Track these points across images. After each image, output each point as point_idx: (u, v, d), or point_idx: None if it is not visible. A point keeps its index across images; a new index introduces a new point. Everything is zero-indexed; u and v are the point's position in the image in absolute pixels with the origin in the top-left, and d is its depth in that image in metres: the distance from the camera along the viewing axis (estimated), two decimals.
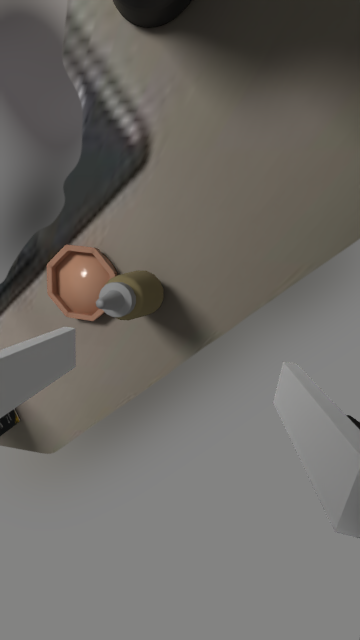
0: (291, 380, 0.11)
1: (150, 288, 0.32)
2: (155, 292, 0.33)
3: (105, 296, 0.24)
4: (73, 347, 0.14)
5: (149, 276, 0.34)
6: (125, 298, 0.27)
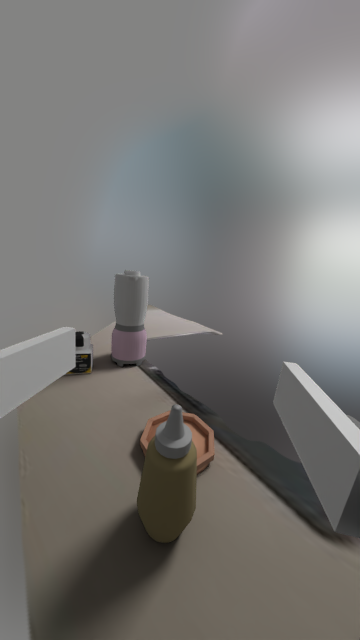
0: (291, 380, 0.11)
1: (178, 494, 0.24)
2: (171, 504, 0.24)
3: (182, 416, 0.25)
4: (73, 347, 0.14)
5: (190, 504, 0.26)
6: (175, 441, 0.25)
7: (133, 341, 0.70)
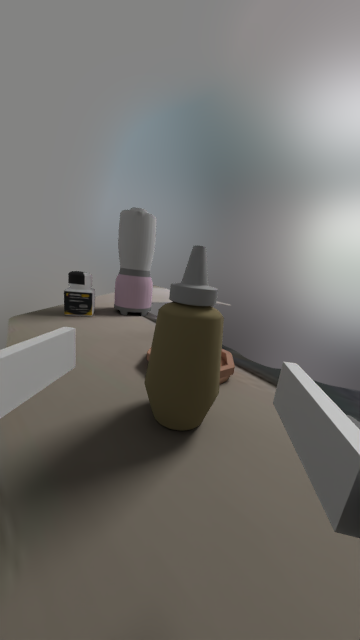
0: (291, 380, 0.11)
1: (201, 351, 0.18)
2: (192, 364, 0.18)
3: None
4: (73, 347, 0.14)
5: (215, 376, 0.20)
6: (198, 286, 0.19)
7: (138, 286, 0.64)
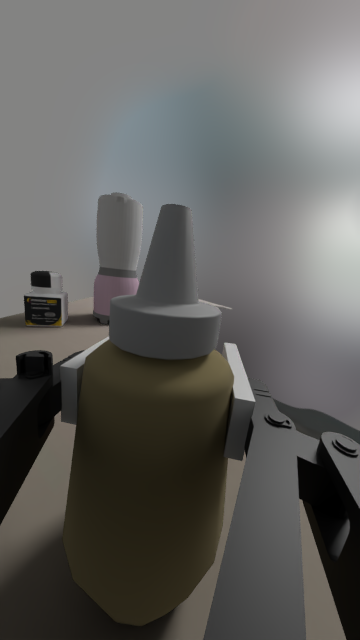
0: (224, 356, 0.13)
1: (179, 482, 0.07)
2: (154, 518, 0.07)
3: (193, 238, 0.08)
4: None
5: (215, 517, 0.09)
6: (171, 306, 0.07)
7: (121, 289, 0.52)
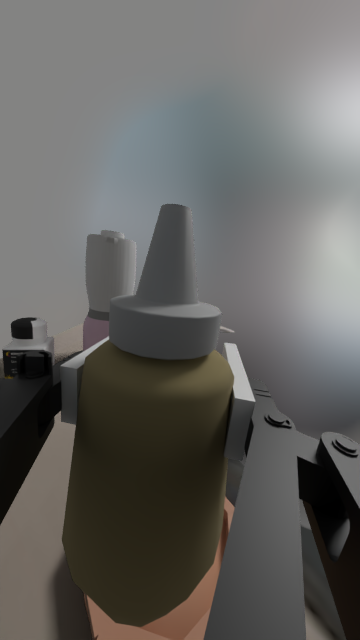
0: (225, 356, 0.13)
1: (178, 483, 0.07)
2: (154, 519, 0.07)
3: (193, 238, 0.08)
4: None
5: (215, 517, 0.09)
6: (171, 306, 0.07)
7: None
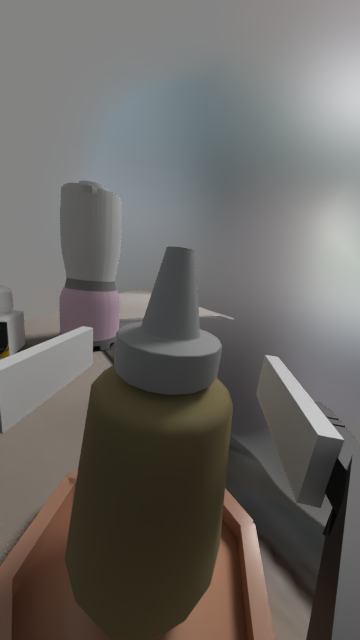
0: (270, 371, 0.11)
1: (178, 512, 0.07)
2: (155, 546, 0.07)
3: (196, 276, 0.09)
4: (91, 346, 0.14)
5: (212, 541, 0.09)
6: (174, 343, 0.08)
7: (92, 307, 0.41)
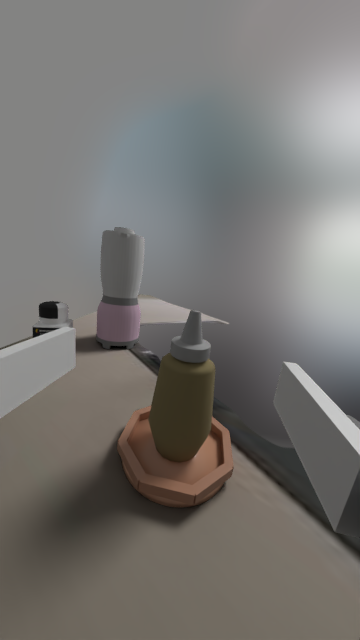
0: (291, 380, 0.11)
1: (196, 401, 0.22)
2: (188, 411, 0.22)
3: None
4: (73, 347, 0.14)
5: (207, 418, 0.24)
6: (194, 345, 0.23)
7: (123, 317, 0.56)
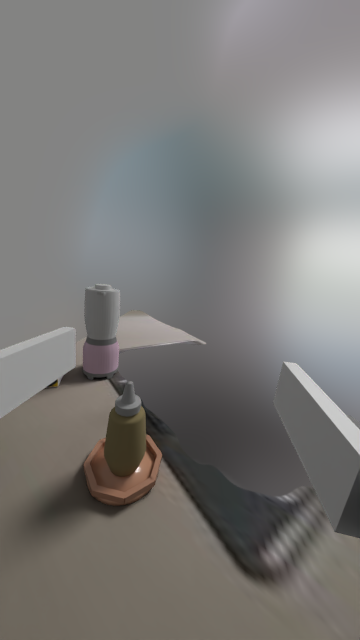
0: (291, 380, 0.11)
1: (128, 440, 0.37)
2: (123, 446, 0.36)
3: (133, 389, 0.38)
4: (73, 347, 0.14)
5: (138, 449, 0.38)
6: (127, 405, 0.37)
7: (103, 355, 0.70)
